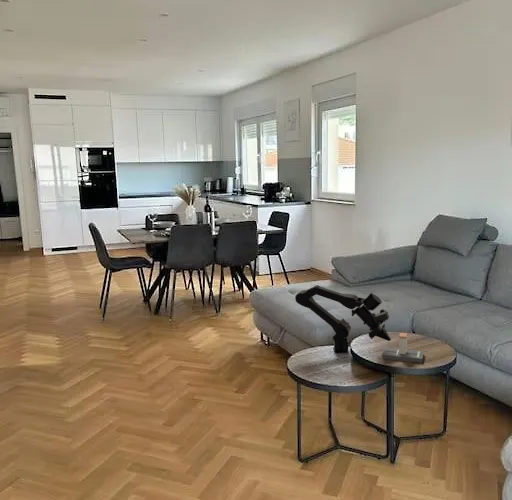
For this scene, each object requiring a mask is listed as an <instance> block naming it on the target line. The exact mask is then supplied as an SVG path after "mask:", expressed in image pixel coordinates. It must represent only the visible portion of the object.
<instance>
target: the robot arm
mask: <svg viewBox="0 0 512 500" xmlns="http://www.w3.org/2000/svg"><path fill="white" fill-rule="evenodd" d="M316 295H317V296H319V297H323V298H325V299H328V300H331V301H334V302H338V303H339V304H341V305H342V306H343V307H345V308H347V309H349V310H351V316H352V317H354V316H355V315H356V316H357V317H358V318H359V319H360V320H361V321H362V322H363V325H364V326H365V325H366V326H367V327H368V328H369V332H368V337H369V338H370V339H371V340H373V338H375V337H378V338H380V339H383V340H385V341H387V342H390V341H391V340H392V338H391V337H390V335H389V333H388V332H387V330H386V323H384V322H386V321H387V320H389V318H390V315H389V312H388V311H387V310H385V309H384V308H382V309H380V310H379V312H378V313H377V314H376V313H375V312H371V311H374V310H376V309H377V308H378V307H379V306H380V305H381V304H382V303H383V302H382V300H381V299H380V297H379V296H378V295H376V294H374V293H373V292H370V293H369V295H368V296H366V297H365V298H362V297H358V295H357V294H351V293H342V292H341V293H340V292H338V291H335V290H332V289H328V288H326V287H324V286H323V287H322V286H320V285H319V284H317V285H314V286H312V287H311V288H308V289H304V290H300V291H299V292H298V293H297V294H295V297H294V299H295V302H296V304H298V305H300V306H302V307H305V308H306V309H309V310H310V311H312V312H313V313H314V314H315V315H317V316H318V317H319V318H320V319H322V320H323V321H324V322H325V323H326V324H328V325H330V327H331V328H332V330H333V332H334V335H333V336H332V339H333V340H332V341H333V347H332V349H333V352H334V353H335V354H338V353H339V354H341V353H343V354H344V353H346V354H347V353H349V341H348V339H347V337H349V335H350V334H351V332H352V327H351V326H352V325H350V322H347V321H346V319H344V318H341V319H338V318H337V317H335V316H334V315H333V314H331V312H329V311H327V309H326V308H324V307H323V306H322V305H321V304H319V303H318V302H316V300H315V299H314V298H313V297H314V296H316ZM383 323H384V324H383Z"/></svg>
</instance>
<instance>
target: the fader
mask: <svg viewBox="0 0 512 500" xmlns="http://www.w3.org/2000/svg"><path fill="white" fill-rule="evenodd" d="M398 338H399V339H398V340H399V341H398V346H399V347H398V349H399V354H406V352H407V350H408V333H407V332H400V333H399V336H398Z"/></svg>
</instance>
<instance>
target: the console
mask: <svg viewBox="0 0 512 500" xmlns="http://www.w3.org/2000/svg"><path fill="white" fill-rule="evenodd" d="M382 351H383V352H382V354H381V355H382V356H381V357H382V358H384V359H383V360H390V359H391V361H401V362H409V363H410V362H411V363H419V364H423V360H424V354H425V351H424V350H416V349H407V352H406V354H399V348H396V347H384V349H383V350H382ZM382 358H381V359H382Z"/></svg>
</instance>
